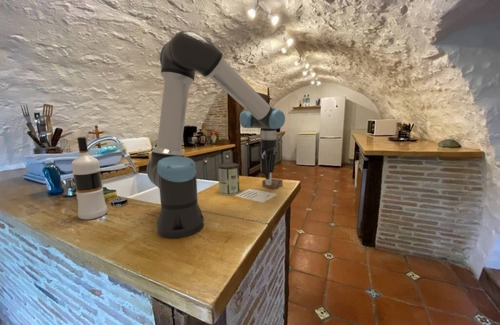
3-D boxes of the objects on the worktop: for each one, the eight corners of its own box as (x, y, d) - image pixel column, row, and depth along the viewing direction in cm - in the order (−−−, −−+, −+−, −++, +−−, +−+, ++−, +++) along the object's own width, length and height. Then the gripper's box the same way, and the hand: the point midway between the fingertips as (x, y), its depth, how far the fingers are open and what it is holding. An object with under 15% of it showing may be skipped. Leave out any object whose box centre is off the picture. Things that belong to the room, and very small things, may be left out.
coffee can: (227, 187, 117) (226, 162, 114) (243, 191, 111) (243, 163, 109) (214, 193, 108) (213, 165, 105) (231, 197, 103) (230, 167, 100)
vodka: (73, 222, 78) (59, 138, 73) (84, 211, 87) (72, 136, 81) (103, 218, 81) (91, 137, 75) (111, 209, 90) (100, 135, 84)
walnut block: (275, 190, 112) (275, 183, 112) (262, 187, 117) (262, 180, 116) (282, 186, 119) (282, 179, 118) (269, 184, 123) (269, 177, 123)
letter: (263, 203, 95) (262, 202, 94) (234, 196, 104) (234, 195, 103) (277, 194, 105) (277, 194, 105) (249, 189, 114) (249, 188, 114)
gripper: (268, 140, 102) (268, 189, 106) (281, 138, 112) (280, 182, 117) (255, 139, 106) (255, 186, 110) (268, 138, 116) (268, 180, 121)
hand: (268, 184), depth 113 cm, fingers closed
